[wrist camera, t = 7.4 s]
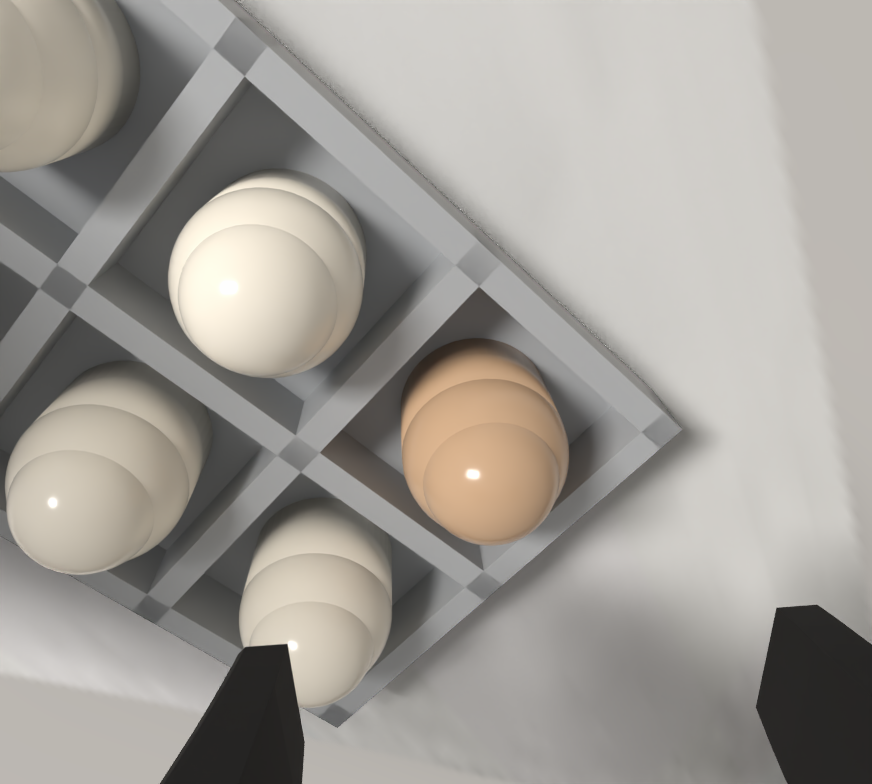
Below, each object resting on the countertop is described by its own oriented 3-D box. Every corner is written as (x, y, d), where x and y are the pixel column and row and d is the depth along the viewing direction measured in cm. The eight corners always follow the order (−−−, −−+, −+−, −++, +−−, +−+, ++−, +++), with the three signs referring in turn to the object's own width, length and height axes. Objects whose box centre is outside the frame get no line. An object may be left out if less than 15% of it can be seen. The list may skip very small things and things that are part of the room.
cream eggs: (334, 626, 22) (319, 771, 17) (-218, 281, 16) (-437, 364, 12) (576, 402, 19) (631, 507, 15) (4, -101, 14) (-175, -170, 9)
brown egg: (544, 465, 20) (588, 584, 15) (404, 473, 20) (408, 596, 15) (549, 334, 18) (600, 426, 14) (396, 342, 18) (397, 438, 14)
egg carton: (341, 668, 23) (337, 727, 21) (-300, 281, 17) (-393, 313, 15) (652, 390, 19) (682, 429, 17) (-20, -238, 13) (-94, -289, 11)
